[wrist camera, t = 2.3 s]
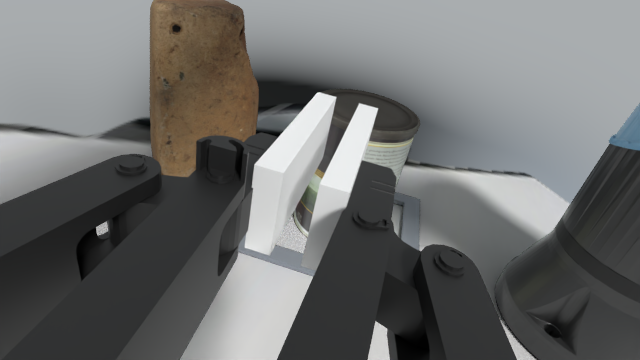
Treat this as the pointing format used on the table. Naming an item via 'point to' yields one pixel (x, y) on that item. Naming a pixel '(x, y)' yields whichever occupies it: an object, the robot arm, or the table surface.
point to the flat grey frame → (294, 261)
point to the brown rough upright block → (198, 79)
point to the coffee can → (383, 147)
